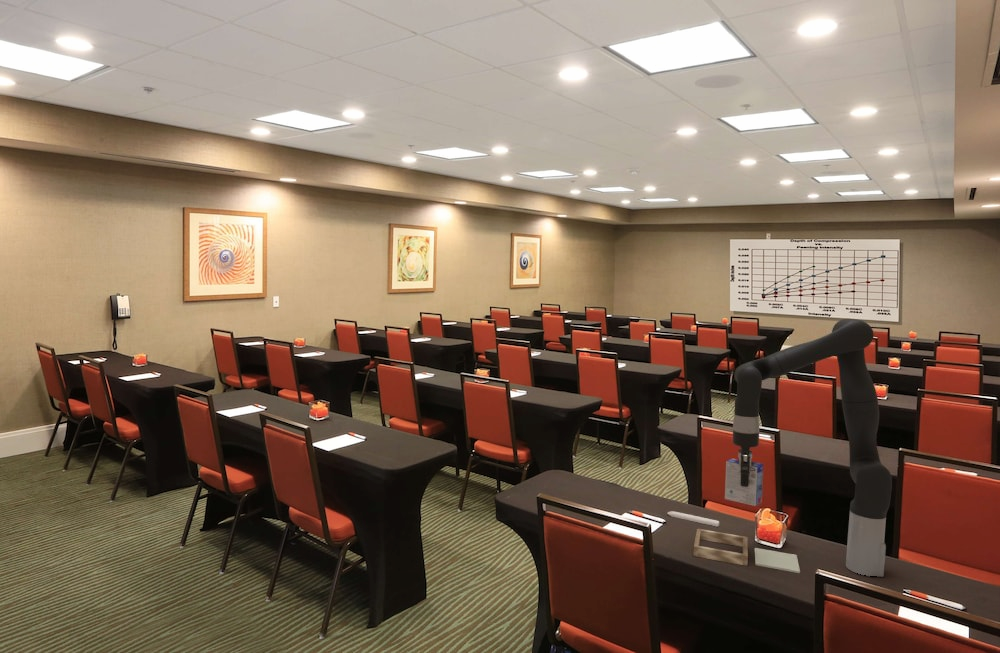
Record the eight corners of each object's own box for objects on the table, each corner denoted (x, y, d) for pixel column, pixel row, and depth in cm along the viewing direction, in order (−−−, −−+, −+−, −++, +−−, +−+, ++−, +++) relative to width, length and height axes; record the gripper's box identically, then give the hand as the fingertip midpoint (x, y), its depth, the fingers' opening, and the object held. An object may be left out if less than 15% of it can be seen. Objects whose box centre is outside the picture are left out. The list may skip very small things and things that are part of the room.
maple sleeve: (746, 546, 196) (747, 537, 195) (747, 565, 181) (747, 556, 181) (696, 537, 201) (697, 528, 201) (693, 555, 187) (693, 546, 187)
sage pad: (796, 556, 189) (796, 555, 189) (799, 573, 178) (800, 571, 178) (754, 549, 193) (754, 547, 193) (755, 565, 182) (755, 563, 182)
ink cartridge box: (763, 502, 187) (764, 455, 186) (756, 507, 183) (758, 459, 182) (731, 495, 193) (732, 450, 192) (724, 499, 189) (725, 453, 188)
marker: (666, 516, 220) (666, 510, 220) (667, 514, 222) (668, 508, 221) (718, 528, 211) (718, 521, 210) (719, 526, 212) (719, 519, 212)
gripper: (759, 435, 179) (758, 491, 180) (758, 425, 192) (756, 477, 193) (732, 433, 181) (730, 488, 182) (733, 423, 195) (731, 475, 196)
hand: (744, 482), depth 188 cm, fingers closed on ink cartridge box, 6 cm apart
